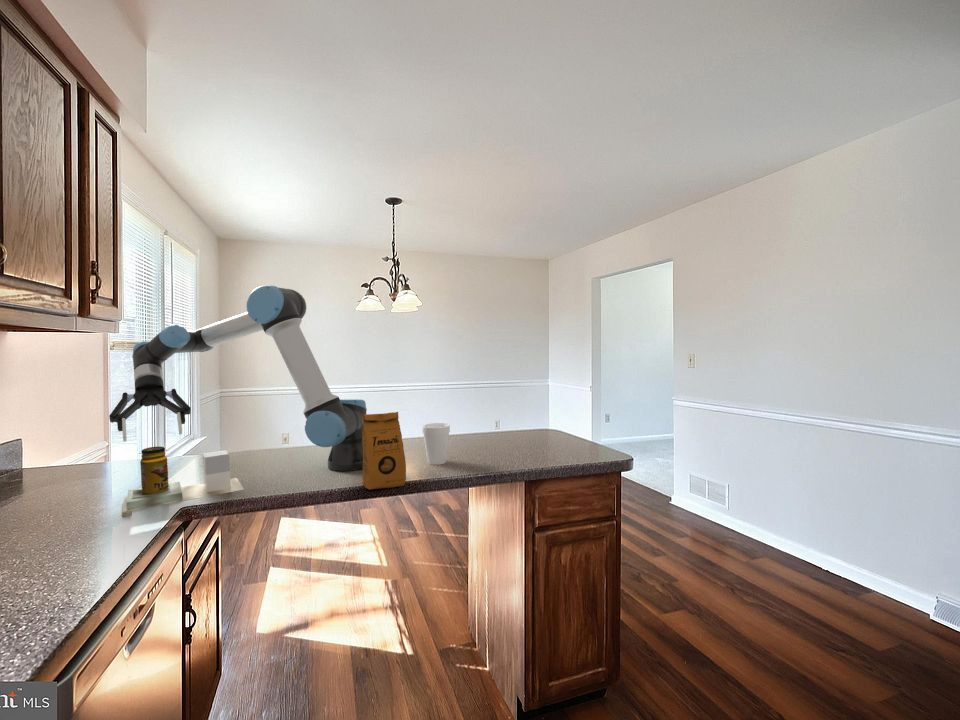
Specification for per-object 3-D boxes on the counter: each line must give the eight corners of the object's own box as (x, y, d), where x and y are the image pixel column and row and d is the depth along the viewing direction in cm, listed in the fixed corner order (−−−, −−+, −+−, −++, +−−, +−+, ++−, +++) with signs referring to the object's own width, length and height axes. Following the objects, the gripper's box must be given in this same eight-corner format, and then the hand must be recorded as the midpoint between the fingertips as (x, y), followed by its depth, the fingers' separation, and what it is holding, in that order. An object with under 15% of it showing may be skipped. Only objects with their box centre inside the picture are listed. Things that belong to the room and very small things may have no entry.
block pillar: (227, 482, 141) (226, 450, 141) (230, 487, 136) (228, 454, 136) (204, 486, 138) (202, 453, 137) (206, 492, 133) (205, 457, 132)
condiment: (170, 492, 127) (168, 448, 126) (131, 499, 122) (129, 453, 122) (170, 485, 133) (167, 443, 133) (133, 491, 128) (130, 448, 128)
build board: (236, 481, 146) (236, 471, 146) (244, 493, 135) (244, 482, 135) (124, 501, 130) (123, 490, 130) (122, 516, 119) (121, 504, 119)
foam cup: (419, 464, 161) (418, 427, 161) (428, 457, 170) (427, 422, 170) (445, 466, 159) (444, 428, 158) (453, 459, 168) (453, 423, 167)
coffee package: (408, 488, 137) (406, 413, 136) (364, 493, 133) (362, 417, 132) (402, 478, 146) (400, 408, 145) (361, 483, 142) (359, 411, 141)
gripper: (194, 385, 160) (201, 436, 148) (100, 393, 145) (100, 449, 134) (194, 370, 155) (202, 421, 144) (97, 376, 141) (98, 434, 129)
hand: (153, 435), depth 139 cm, fingers open, 13 cm apart
